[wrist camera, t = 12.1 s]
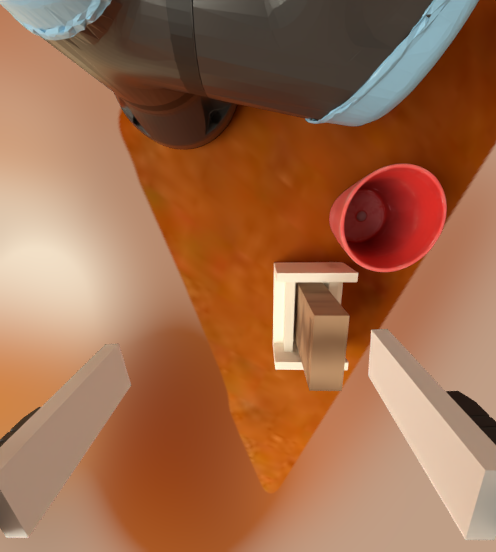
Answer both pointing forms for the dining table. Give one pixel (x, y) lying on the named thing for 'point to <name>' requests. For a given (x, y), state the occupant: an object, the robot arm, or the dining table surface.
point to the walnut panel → (320, 336)
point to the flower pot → (390, 217)
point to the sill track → (286, 301)
